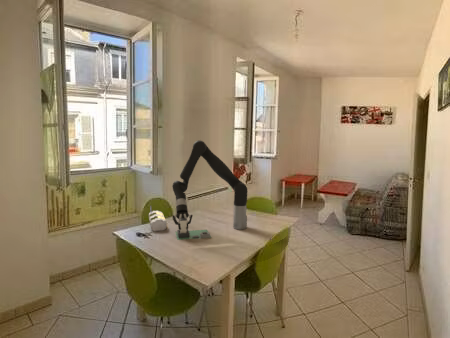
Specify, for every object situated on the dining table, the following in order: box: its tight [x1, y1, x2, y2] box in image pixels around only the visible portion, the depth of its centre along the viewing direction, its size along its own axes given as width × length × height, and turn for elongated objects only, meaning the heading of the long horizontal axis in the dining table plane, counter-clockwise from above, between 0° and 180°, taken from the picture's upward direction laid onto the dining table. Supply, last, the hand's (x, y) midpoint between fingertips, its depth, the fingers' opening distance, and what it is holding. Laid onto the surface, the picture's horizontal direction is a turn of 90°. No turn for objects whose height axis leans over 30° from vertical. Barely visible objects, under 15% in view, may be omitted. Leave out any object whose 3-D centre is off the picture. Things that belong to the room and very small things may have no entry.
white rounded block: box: [148, 206, 167, 231], centre depth 233 cm, size 25×10×13 cm, turn 18°
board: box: [174, 228, 212, 241], centre depth 210 cm, size 22×16×4 cm
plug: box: [180, 218, 188, 233], centre depth 206 cm, size 4×4×11 cm
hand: (183, 229), depth 204 cm, fingers closed on plug, 3 cm apart
